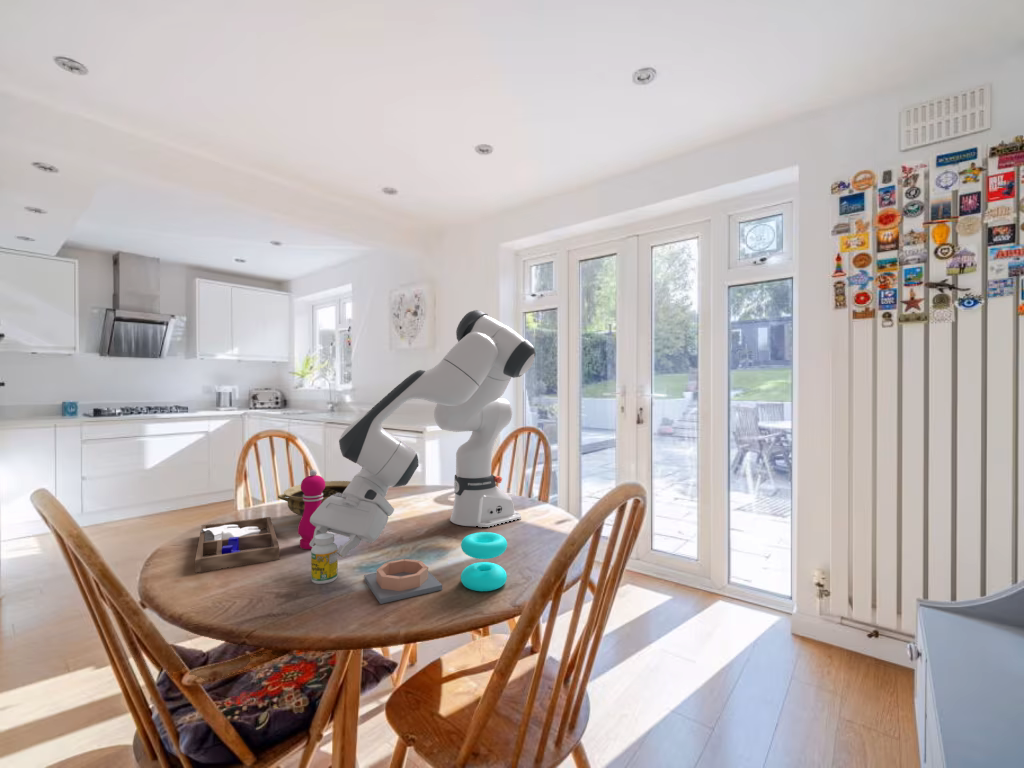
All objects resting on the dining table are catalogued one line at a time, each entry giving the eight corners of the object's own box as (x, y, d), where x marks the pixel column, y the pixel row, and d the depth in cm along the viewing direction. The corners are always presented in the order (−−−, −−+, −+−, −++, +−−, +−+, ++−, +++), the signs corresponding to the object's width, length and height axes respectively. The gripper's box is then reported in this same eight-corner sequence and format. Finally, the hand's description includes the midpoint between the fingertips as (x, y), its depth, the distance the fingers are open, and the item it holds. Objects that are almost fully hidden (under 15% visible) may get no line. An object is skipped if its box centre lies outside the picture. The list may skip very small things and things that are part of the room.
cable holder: (238, 563, 113) (238, 546, 113) (221, 565, 112) (221, 548, 112) (245, 551, 121) (245, 536, 121) (229, 553, 120) (229, 537, 120)
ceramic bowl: (385, 510, 159) (385, 480, 159) (360, 533, 136) (360, 498, 135) (297, 508, 161) (297, 479, 160) (256, 531, 137) (256, 496, 137)
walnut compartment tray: (270, 526, 141) (270, 516, 141) (279, 559, 116) (279, 546, 116) (201, 536, 132) (201, 525, 132) (195, 573, 107) (195, 559, 107)
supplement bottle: (342, 576, 106) (342, 533, 106) (325, 586, 101) (325, 541, 101) (323, 572, 108) (323, 530, 108) (305, 582, 103) (305, 537, 103)
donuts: (496, 548, 97) (452, 541, 100) (495, 597, 97) (452, 588, 100) (514, 533, 106) (473, 528, 110) (513, 578, 106) (473, 571, 110)
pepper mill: (316, 551, 121) (317, 472, 121) (291, 548, 123) (292, 471, 123) (332, 541, 128) (333, 467, 128) (308, 539, 130) (309, 466, 130)
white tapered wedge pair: (230, 551, 121) (269, 539, 131) (230, 535, 121) (269, 523, 131) (200, 544, 126) (239, 533, 136) (200, 528, 126) (240, 518, 136)
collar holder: (420, 568, 111) (421, 553, 111) (442, 589, 100) (442, 573, 100) (364, 579, 104) (364, 563, 104) (380, 604, 93) (380, 586, 93)
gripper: (326, 484, 116) (288, 535, 108) (385, 495, 105) (348, 553, 97) (341, 499, 120) (306, 549, 112) (399, 511, 109) (365, 567, 101)
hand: (326, 551), depth 104 cm, fingers open, 8 cm apart
